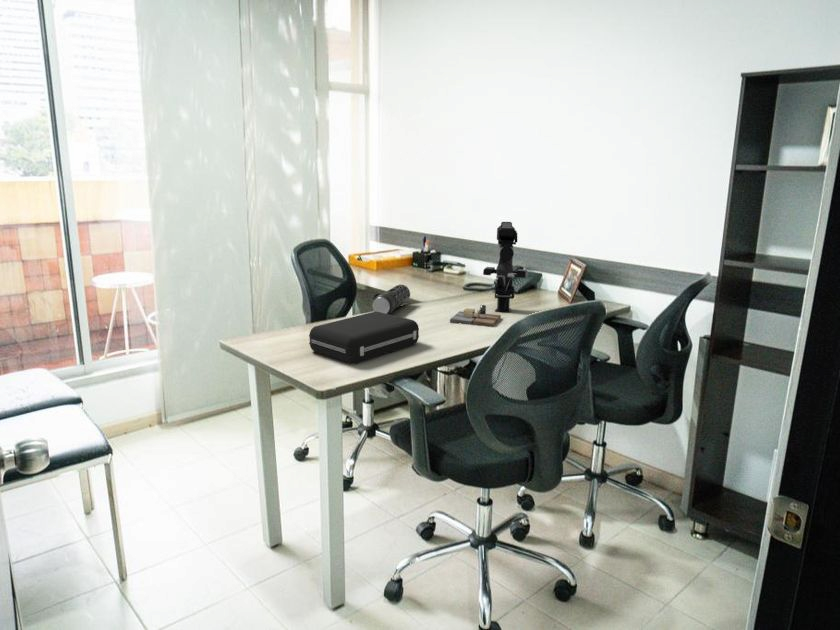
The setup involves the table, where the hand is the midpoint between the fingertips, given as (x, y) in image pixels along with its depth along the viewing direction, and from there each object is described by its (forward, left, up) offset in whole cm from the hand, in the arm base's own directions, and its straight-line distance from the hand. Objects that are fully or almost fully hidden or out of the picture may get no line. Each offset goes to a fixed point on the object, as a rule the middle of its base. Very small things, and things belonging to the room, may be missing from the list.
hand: (504, 291), depth 275 cm
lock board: (+9, -11, -12) cm, 19 cm away
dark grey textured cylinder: (+7, -51, -12) cm, 53 cm away
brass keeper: (+9, -12, -11) cm, 18 cm away
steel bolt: (+9, -10, -10) cm, 17 cm away
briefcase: (+61, -42, -13) cm, 75 cm away
